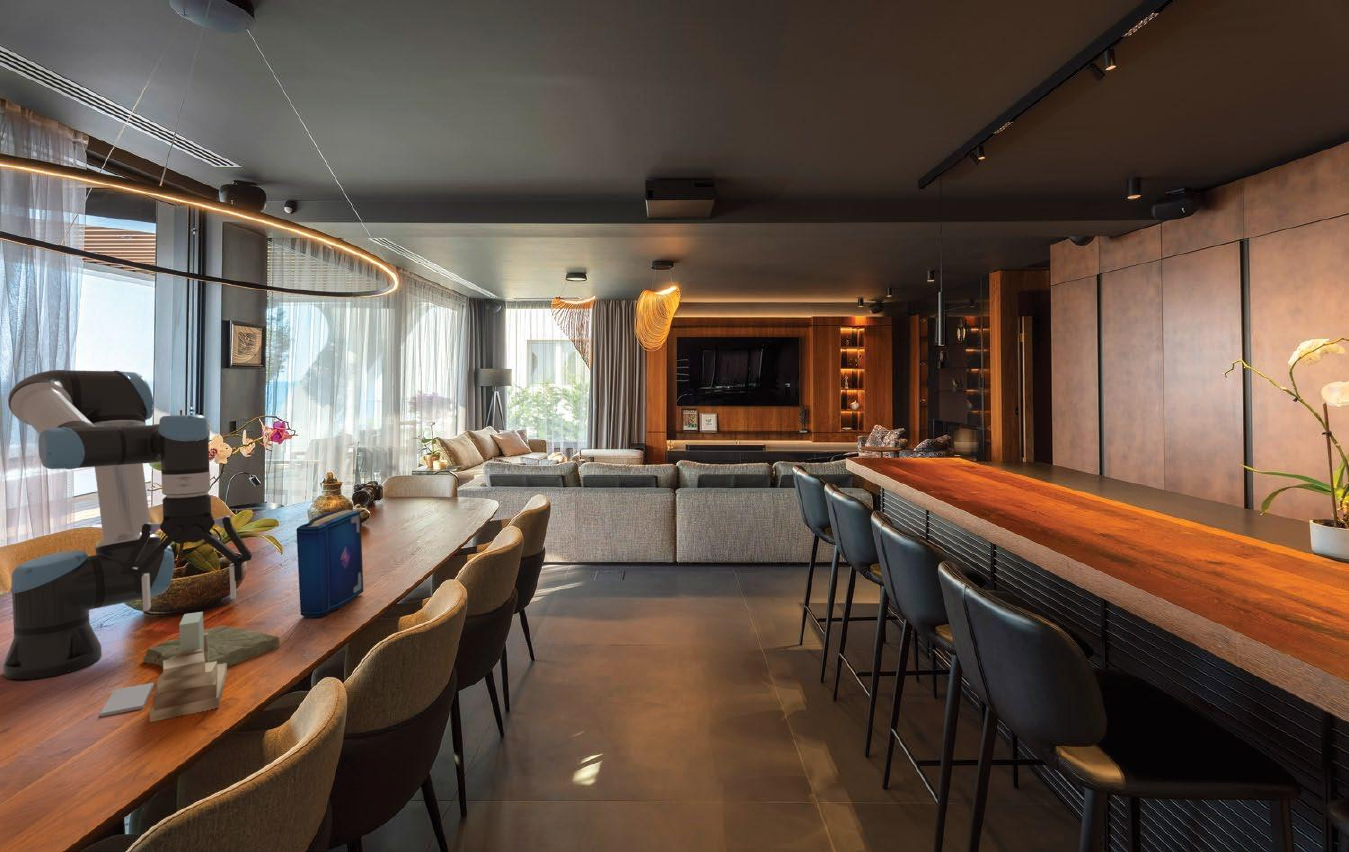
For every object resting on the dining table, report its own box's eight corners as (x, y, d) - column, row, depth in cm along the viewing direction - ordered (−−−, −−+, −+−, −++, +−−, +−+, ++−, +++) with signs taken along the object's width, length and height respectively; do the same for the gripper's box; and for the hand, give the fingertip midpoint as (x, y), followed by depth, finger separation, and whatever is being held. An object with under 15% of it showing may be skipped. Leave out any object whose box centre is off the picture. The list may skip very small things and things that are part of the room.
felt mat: (100, 716, 117) (100, 713, 117) (114, 692, 126) (114, 689, 126) (143, 708, 120) (143, 705, 120) (153, 685, 129) (153, 682, 129)
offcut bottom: (153, 710, 115) (153, 696, 115) (157, 697, 120) (157, 684, 120) (216, 697, 120) (215, 684, 120) (217, 685, 125) (216, 672, 125)
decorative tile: (222, 636, 157) (222, 621, 157) (281, 648, 149) (280, 633, 149) (134, 666, 140) (133, 650, 139) (195, 681, 132) (194, 664, 132)
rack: (149, 722, 115) (147, 671, 114) (166, 683, 130) (164, 638, 130) (218, 708, 120) (217, 660, 119) (227, 672, 135) (225, 629, 135)
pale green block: (181, 686, 124) (179, 624, 124) (186, 673, 130) (184, 614, 130) (200, 683, 126) (198, 621, 125) (205, 669, 132) (202, 611, 131)
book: (322, 620, 167) (319, 523, 165) (295, 620, 167) (292, 523, 165) (364, 594, 188) (362, 508, 187) (340, 594, 188) (338, 508, 187)
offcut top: (163, 680, 115) (163, 669, 115) (163, 671, 119) (163, 660, 119) (205, 671, 119) (205, 660, 119) (203, 662, 123) (203, 652, 123)
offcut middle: (157, 693, 116) (157, 679, 116) (165, 682, 120) (165, 668, 120) (212, 684, 119) (211, 671, 119) (217, 674, 124) (217, 661, 124)
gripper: (97, 502, 117) (103, 619, 117) (262, 491, 129) (266, 597, 130) (107, 497, 123) (112, 608, 124) (263, 487, 136) (267, 588, 137)
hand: (191, 603), depth 127 cm, fingers open, 13 cm apart
